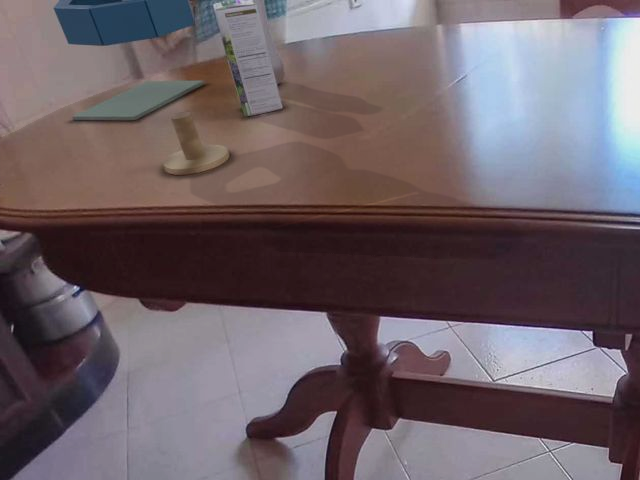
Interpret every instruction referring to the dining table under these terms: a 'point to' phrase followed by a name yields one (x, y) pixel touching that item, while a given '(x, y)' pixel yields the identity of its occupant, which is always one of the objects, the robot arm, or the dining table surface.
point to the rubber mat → (138, 100)
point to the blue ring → (121, 20)
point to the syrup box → (248, 56)
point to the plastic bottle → (270, 43)
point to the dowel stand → (192, 149)
